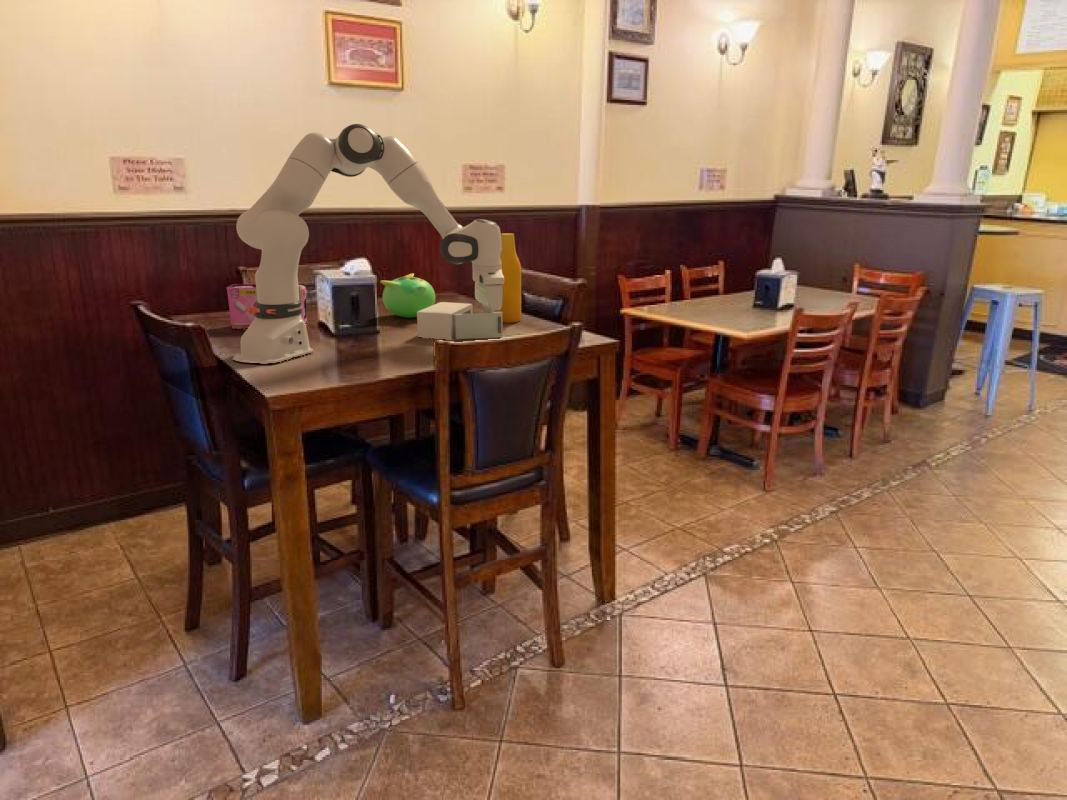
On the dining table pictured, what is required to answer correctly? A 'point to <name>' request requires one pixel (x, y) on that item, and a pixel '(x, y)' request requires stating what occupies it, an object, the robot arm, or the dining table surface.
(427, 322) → the cabinet housing
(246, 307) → the gum box
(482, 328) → the side door
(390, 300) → the green horned ball
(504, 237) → the beer bottle
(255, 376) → the dining table surface
